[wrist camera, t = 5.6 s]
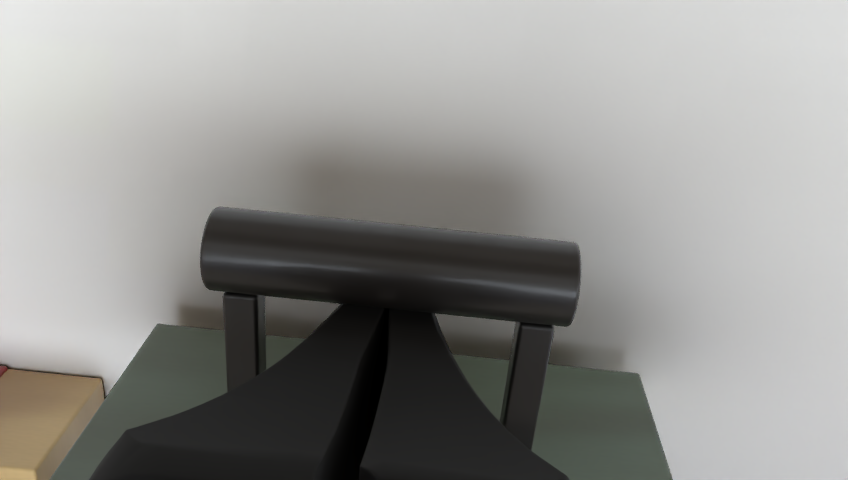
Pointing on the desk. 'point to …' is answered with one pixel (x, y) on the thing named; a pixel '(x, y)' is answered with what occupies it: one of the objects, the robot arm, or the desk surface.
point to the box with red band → (42, 420)
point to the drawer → (404, 290)
